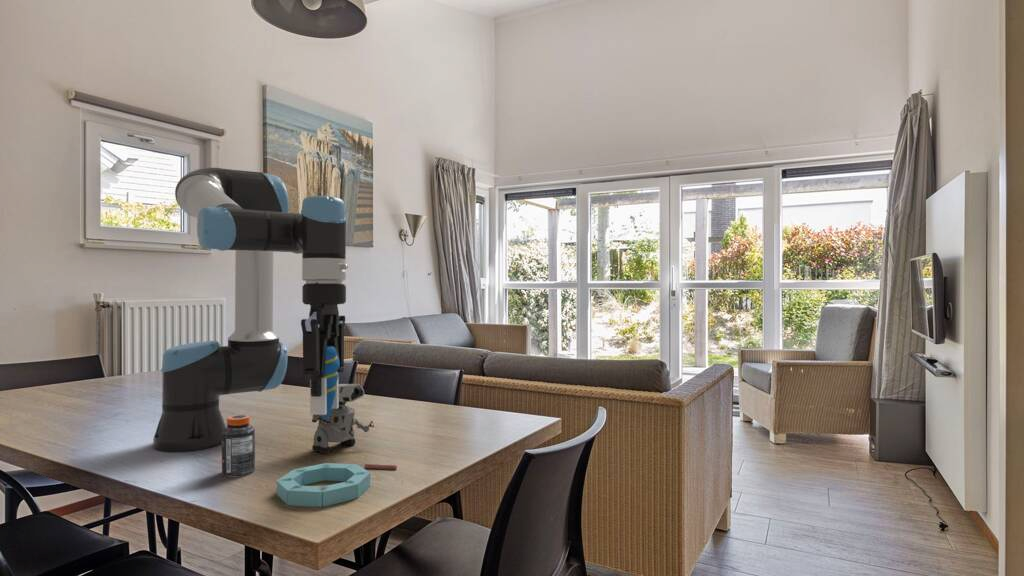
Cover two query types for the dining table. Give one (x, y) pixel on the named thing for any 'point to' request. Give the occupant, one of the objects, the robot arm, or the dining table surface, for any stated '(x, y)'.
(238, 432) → the pill bottle
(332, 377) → the ornament
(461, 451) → the dining table surface
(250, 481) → the dining table surface
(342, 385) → the figurine
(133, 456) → the dining table surface
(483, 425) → the dining table surface
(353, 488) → the teal octagonal ring
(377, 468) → the reddish pink rod
